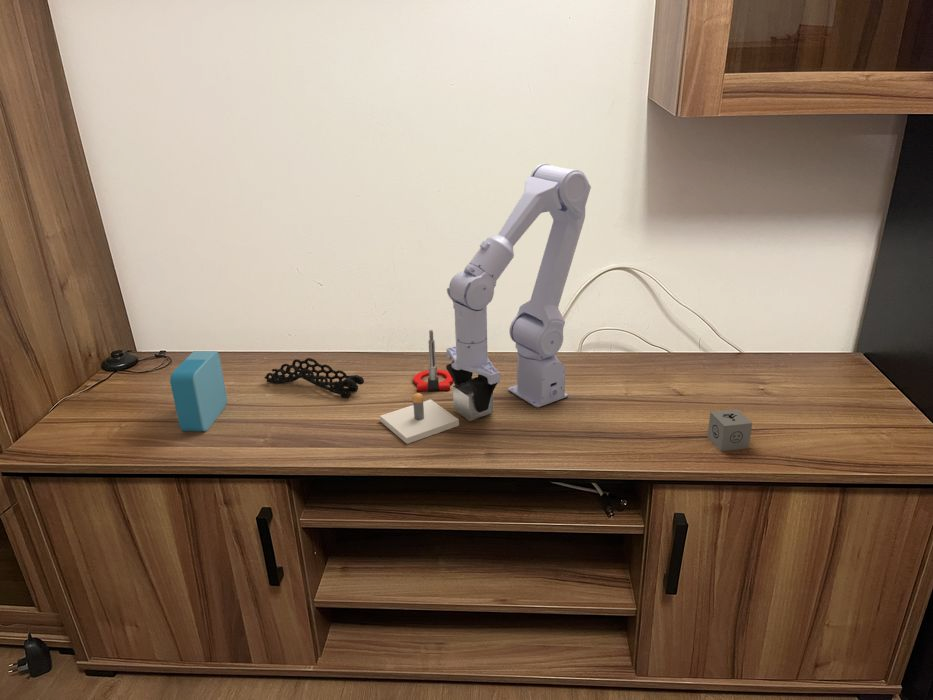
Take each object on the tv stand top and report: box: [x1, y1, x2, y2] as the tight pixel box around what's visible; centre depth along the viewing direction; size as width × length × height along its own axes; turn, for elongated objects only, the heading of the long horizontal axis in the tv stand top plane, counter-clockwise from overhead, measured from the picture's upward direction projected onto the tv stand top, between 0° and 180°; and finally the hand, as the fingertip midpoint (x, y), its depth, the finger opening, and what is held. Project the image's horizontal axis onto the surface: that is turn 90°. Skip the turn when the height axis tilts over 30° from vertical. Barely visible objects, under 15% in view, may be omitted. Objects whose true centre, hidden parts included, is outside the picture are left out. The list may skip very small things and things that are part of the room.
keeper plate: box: [379, 392, 460, 445], centre depth 132 cm, size 10×11×6 cm
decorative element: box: [264, 357, 365, 400], centre depth 146 cm, size 22×5×6 cm, turn 69°
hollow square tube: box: [452, 381, 494, 421], centre depth 135 cm, size 5×5×5 cm
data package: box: [169, 350, 228, 432], centre depth 135 cm, size 12×4×12 cm, turn 177°
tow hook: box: [413, 329, 454, 392], centre depth 147 cm, size 8×13×9 cm
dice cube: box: [707, 408, 753, 452], centre depth 123 cm, size 5×5×5 cm
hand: (473, 404), depth 135 cm, fingers closed on hollow square tube, 5 cm apart
